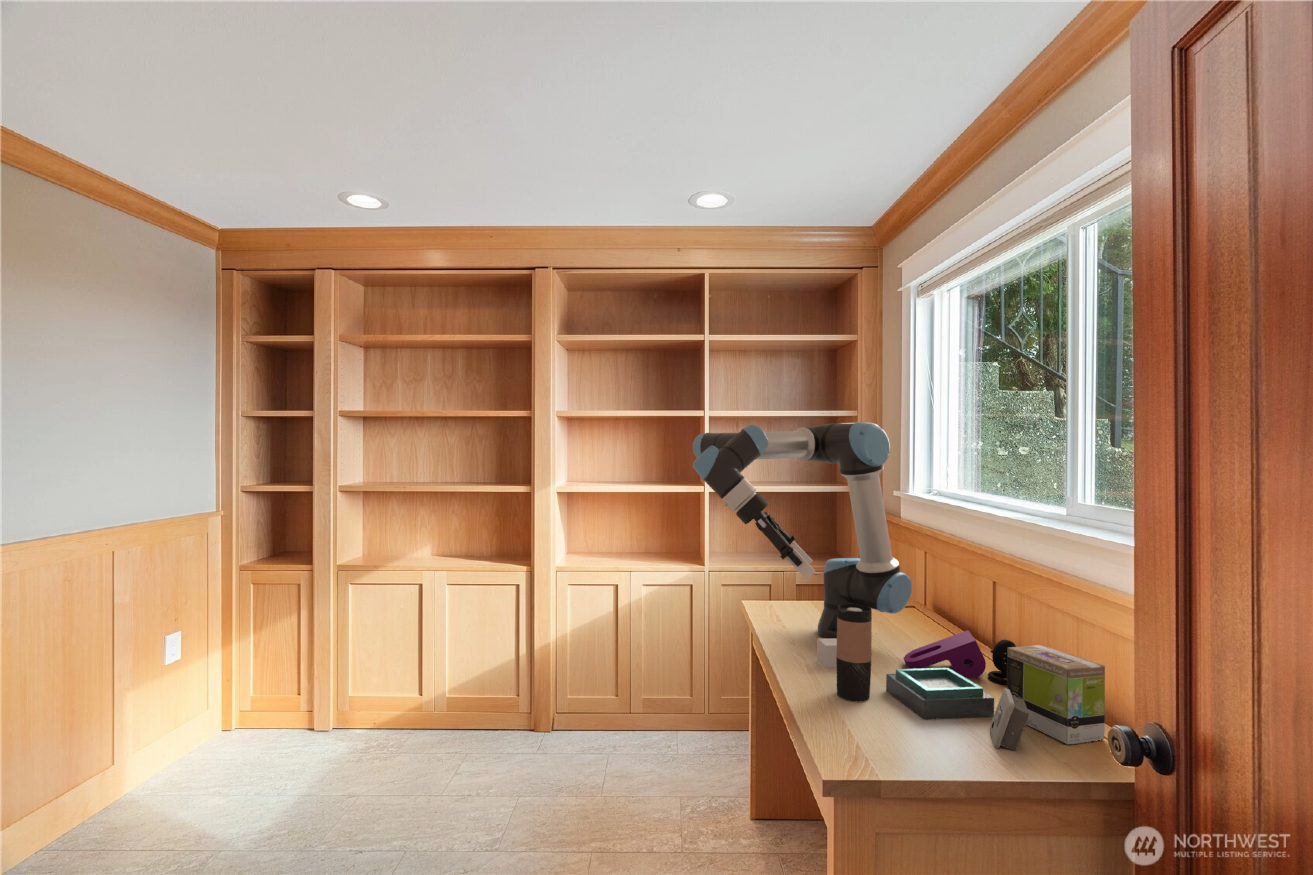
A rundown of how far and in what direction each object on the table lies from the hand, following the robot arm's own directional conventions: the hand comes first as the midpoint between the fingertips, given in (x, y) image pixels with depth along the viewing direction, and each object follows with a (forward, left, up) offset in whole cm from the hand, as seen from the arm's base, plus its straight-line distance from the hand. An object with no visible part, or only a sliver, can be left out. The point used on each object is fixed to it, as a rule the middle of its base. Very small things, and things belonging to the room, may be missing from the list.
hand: (809, 569), depth 152 cm
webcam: (-3, +51, -28) cm, 59 cm away
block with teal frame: (+9, +26, -28) cm, 40 cm away
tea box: (+23, +43, -28) cm, 57 cm away
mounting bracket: (-12, +40, -28) cm, 51 cm away
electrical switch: (+28, +29, -28) cm, 50 cm away
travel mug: (+3, +9, -28) cm, 30 cm away
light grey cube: (-18, +13, -28) cm, 36 cm away
